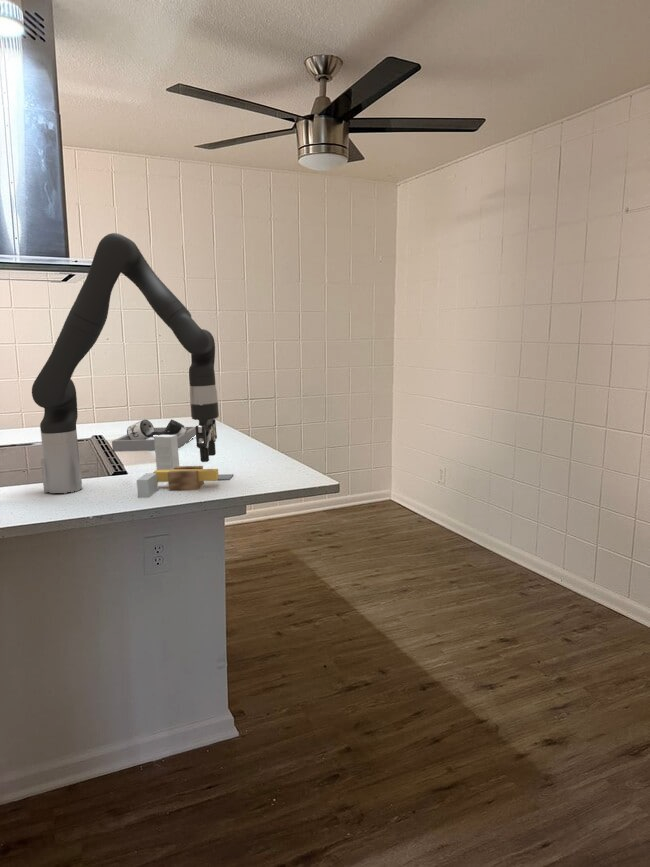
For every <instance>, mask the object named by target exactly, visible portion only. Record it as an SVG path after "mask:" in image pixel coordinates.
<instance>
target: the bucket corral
mask: <svg viewBox="0 0 650 867" xmlns="http://www.w3.org/2000/svg"><path fill="white" fill-rule="evenodd" d="M166 427H167V426H165V427H154V431H155V432H162V431H164V430H165V429H166ZM185 427H186V428H187V431H186V433H185V434H181V435H179V436H177V443H178V448H179V449H180V448H181V446H182V445H183V446H184V444H185V443H186V442H188V441H189V440H190V439H191V438H192V437H194V436H195V435H196V429H195V427H196V426H185ZM155 435H157V434H155ZM189 442H190V441H189ZM189 442H188V443H189ZM186 444H187V443H186ZM186 444H185V445H186ZM111 446H112V451H113V450H114V451H113V452H143V451H145V452H146V451H155V443H154V438H153V439H146V440H130V439H129V435H127V434H124V435H122V436H120V437H118V438H115V439H113V440H112V441H111ZM183 446H182V447H183Z"/></svg>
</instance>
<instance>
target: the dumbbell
mask: <svg viewBox="0 0 650 867" xmlns="http://www.w3.org/2000/svg"><path fill="white" fill-rule="evenodd" d="M165 427H166V429H165V430H164V431H162V432H155V431H154V428H155V427H154V425H153V423H152V422H151V421H150V420H148V419H142V420H140V421H138V422H136V423H134V424H131V425H130V426H128V428H127V430H126V435H129V439H130V440H149V439H151V438H153V437H152V436H153V435H155V434H157V435H177V436H179V435H181V434H185V433H186V431H187V428H186V427H187V426H185V425H183V423H180V422H178V421H176V420H174V419H170V421H169V422H168V424H167V425H166V426H165Z"/></svg>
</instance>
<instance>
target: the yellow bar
mask: <svg viewBox="0 0 650 867" xmlns="http://www.w3.org/2000/svg"><path fill="white" fill-rule="evenodd" d="M189 470H198V480H199V481H204V482H216V481H218V480H217V479H218V478H219V476H218V475H219V469H218V468H203V469H178V470H157V469H156V470H154V471H153V472H152V473H157V482H158V483H161V482H162V483H163V482H164V483H166V482H168V472H169V471H189Z"/></svg>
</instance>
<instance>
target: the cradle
mask: <svg viewBox="0 0 650 867" xmlns="http://www.w3.org/2000/svg"><path fill="white" fill-rule="evenodd" d="M178 469H204V466H203V465H188V466H187V465H185V466H184V465H183V466H181V465H179V466H176V467H174V470H178ZM204 484H205V481H199V480H198V470H189V471H169V472H168V491H169V492H171V491H173V492H174V491H177V492H179V491H182V492H183V491H198V490H200V488H201V487H202V486H203V485H204Z"/></svg>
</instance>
